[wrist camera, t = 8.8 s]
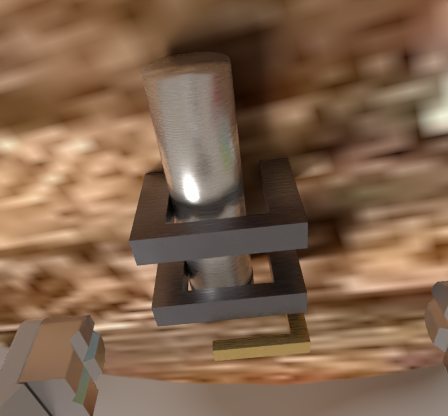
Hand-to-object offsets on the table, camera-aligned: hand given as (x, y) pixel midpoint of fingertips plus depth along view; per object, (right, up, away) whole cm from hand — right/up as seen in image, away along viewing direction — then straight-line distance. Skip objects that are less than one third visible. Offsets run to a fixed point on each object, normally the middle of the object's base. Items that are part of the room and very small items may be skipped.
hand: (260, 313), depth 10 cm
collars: (-1, +1, +23) cm, 23 cm away
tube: (-1, +5, +20) cm, 21 cm away
